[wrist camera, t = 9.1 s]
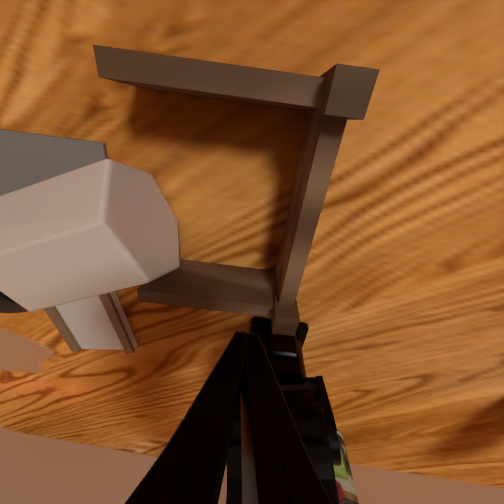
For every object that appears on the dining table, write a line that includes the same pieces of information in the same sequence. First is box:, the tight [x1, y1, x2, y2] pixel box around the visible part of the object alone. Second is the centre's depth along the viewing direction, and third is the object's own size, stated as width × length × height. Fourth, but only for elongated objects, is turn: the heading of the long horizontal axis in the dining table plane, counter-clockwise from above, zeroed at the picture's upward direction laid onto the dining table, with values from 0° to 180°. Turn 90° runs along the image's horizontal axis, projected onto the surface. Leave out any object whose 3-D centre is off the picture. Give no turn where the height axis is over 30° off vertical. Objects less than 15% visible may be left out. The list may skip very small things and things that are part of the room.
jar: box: [0, 159, 180, 313], centre depth 17 cm, size 9×8×12 cm
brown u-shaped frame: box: [93, 45, 379, 336], centre depth 16 cm, size 17×13×6 cm
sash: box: [44, 291, 138, 353], centre depth 26 cm, size 11×8×1 cm
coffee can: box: [334, 430, 359, 504], centre depth 34 cm, size 10×10×14 cm
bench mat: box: [0, 129, 108, 196], centre depth 20 cm, size 11×11×1 cm
